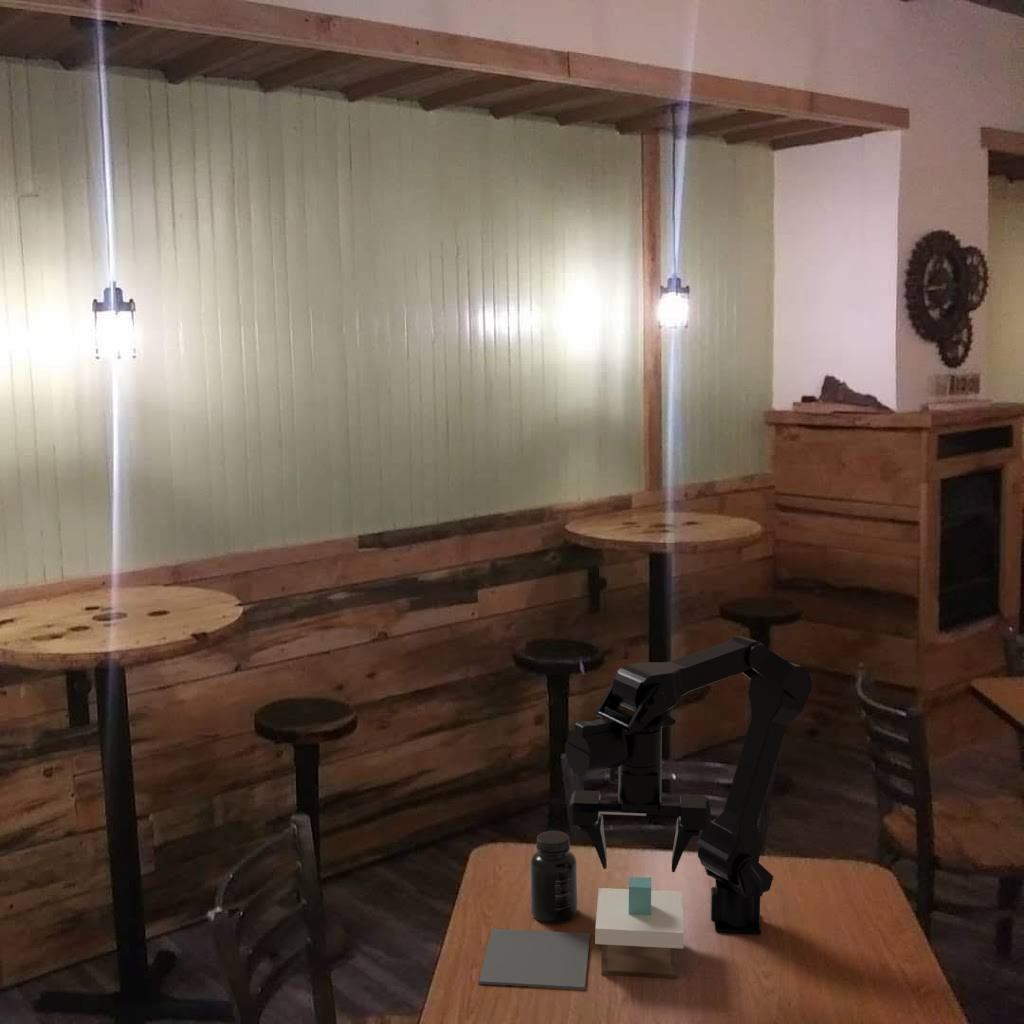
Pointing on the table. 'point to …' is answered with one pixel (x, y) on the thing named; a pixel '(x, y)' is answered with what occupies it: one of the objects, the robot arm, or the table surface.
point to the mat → (536, 959)
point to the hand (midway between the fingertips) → (639, 869)
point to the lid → (639, 916)
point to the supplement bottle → (553, 879)
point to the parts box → (639, 961)
